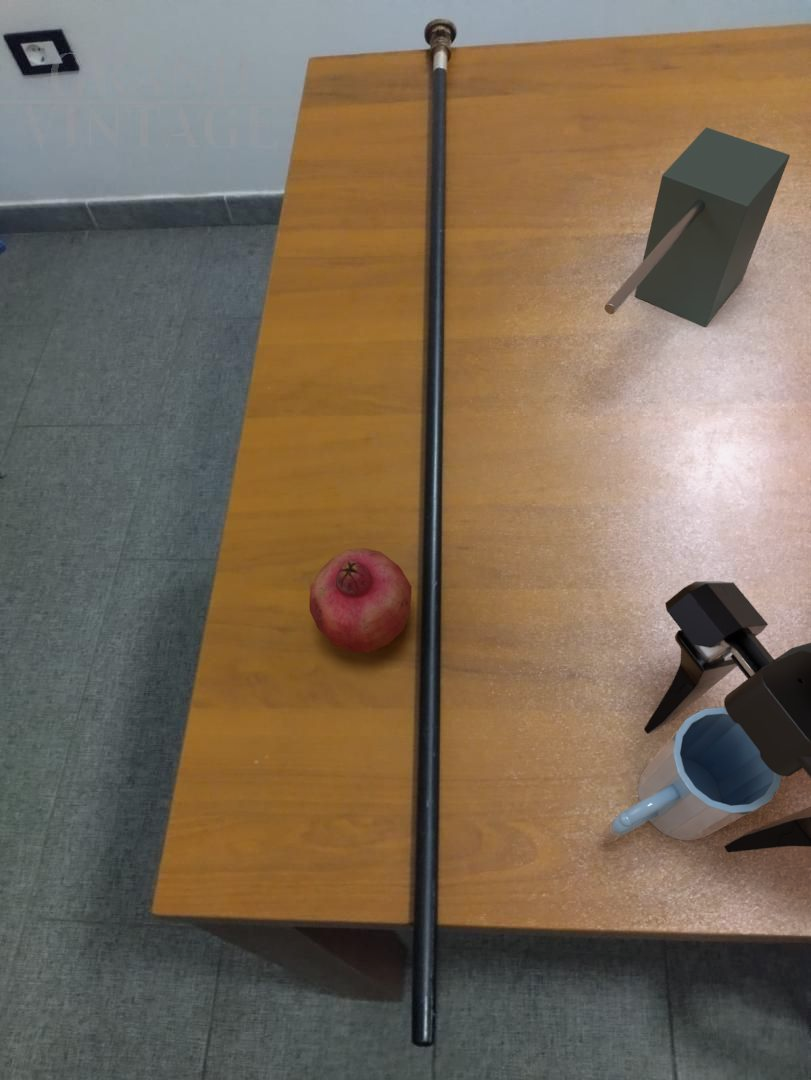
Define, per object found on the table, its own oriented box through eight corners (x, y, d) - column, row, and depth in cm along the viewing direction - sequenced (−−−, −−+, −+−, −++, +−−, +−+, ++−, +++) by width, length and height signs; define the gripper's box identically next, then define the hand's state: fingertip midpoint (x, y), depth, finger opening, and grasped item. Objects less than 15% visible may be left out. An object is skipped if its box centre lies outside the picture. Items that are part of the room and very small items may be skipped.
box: (555, 389, 73) (569, 276, 61) (672, 251, 81) (706, 126, 68) (627, 426, 70) (657, 315, 58) (742, 280, 78) (790, 154, 65)
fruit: (435, 632, 62) (427, 579, 53) (352, 685, 60) (330, 640, 52) (383, 561, 66) (368, 501, 57) (304, 610, 64) (276, 556, 55)
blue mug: (689, 739, 56) (736, 690, 45) (742, 814, 53) (805, 780, 43) (575, 804, 54) (596, 768, 44) (623, 884, 52) (658, 867, 41)
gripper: (736, 509, 39) (538, 676, 47) (1042, 855, 30) (733, 988, 38) (803, 521, 47) (624, 661, 55) (1059, 796, 38) (802, 916, 46)
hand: (686, 787), depth 48 cm, fingers open, 8 cm apart
